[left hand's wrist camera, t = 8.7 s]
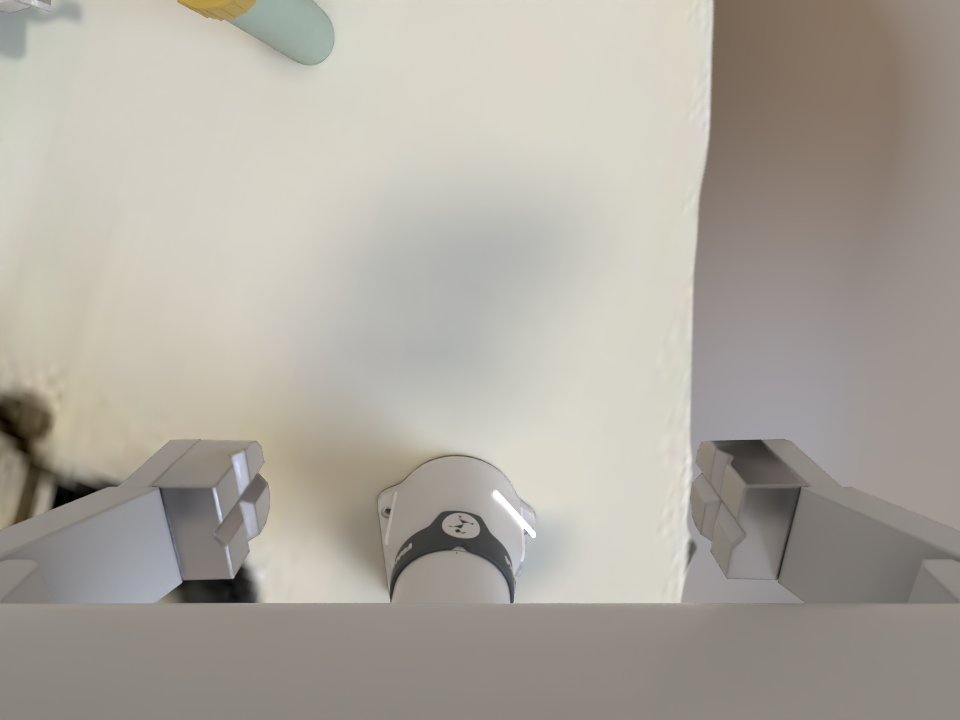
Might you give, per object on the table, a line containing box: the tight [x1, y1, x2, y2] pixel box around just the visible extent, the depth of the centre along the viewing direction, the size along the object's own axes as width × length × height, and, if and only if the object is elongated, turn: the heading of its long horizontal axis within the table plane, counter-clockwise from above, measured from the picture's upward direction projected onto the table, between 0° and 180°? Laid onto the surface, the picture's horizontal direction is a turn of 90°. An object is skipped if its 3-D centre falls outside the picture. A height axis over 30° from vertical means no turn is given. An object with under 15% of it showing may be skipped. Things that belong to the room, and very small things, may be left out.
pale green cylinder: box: [224, 0, 334, 65], centre depth 38 cm, size 5×5×19 cm
